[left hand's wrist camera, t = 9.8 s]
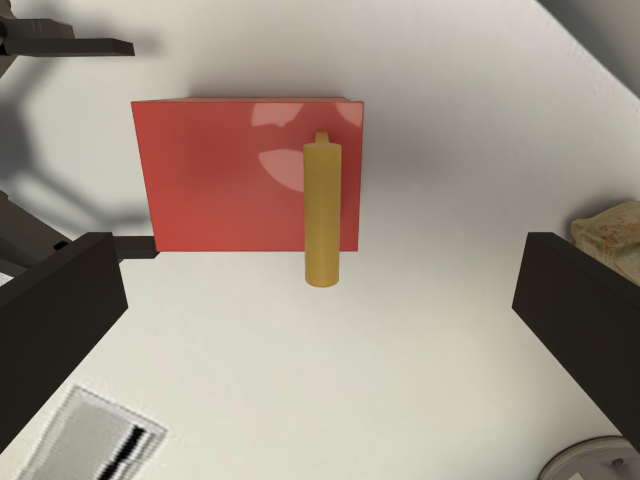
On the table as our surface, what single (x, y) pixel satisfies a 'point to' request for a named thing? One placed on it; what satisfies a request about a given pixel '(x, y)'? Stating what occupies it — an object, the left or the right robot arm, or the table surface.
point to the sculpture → (612, 238)
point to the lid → (254, 177)
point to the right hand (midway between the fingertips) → (144, 156)
